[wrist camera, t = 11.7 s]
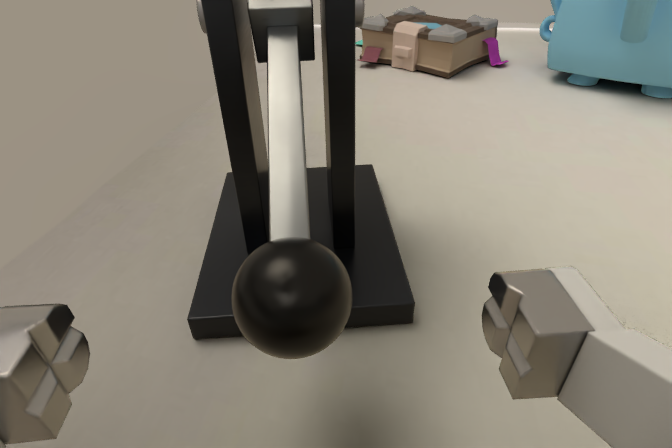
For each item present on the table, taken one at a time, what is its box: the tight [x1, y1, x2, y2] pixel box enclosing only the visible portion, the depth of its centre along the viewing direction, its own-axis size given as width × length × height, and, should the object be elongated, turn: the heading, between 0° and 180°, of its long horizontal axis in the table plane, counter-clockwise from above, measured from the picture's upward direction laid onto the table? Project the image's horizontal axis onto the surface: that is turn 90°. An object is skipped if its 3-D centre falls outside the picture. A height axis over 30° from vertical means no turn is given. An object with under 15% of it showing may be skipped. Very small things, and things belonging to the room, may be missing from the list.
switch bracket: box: [187, 0, 415, 339], centre depth 19 cm, size 12×9×13 cm
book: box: [355, 6, 508, 78], centre depth 49 cm, size 20×12×5 cm, turn 48°
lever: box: [231, 0, 353, 359], centre depth 14 cm, size 14×3×3 cm, turn 5°
